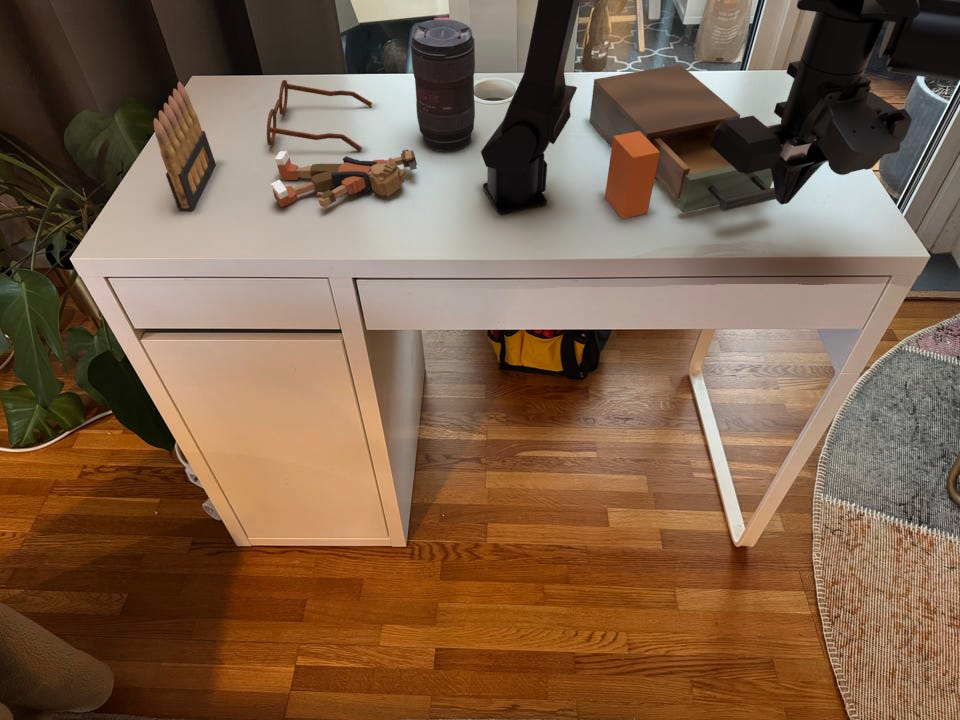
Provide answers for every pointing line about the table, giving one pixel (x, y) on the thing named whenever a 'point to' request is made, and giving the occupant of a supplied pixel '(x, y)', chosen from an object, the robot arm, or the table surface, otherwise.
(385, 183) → the character figurine
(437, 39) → the camera lens
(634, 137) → the orange rectangular block
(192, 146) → the ammunition clip
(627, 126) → the cabinet
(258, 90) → the table surface
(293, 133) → the glasses
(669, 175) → the drawer
